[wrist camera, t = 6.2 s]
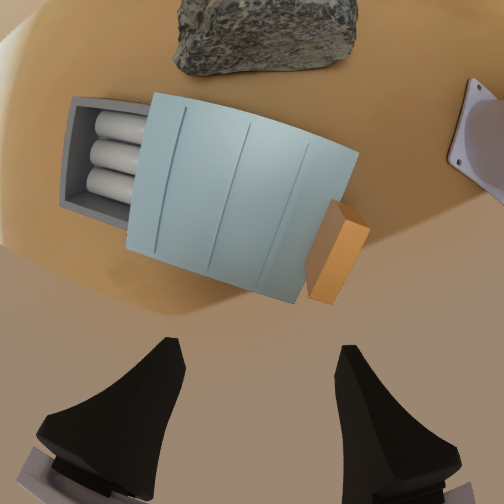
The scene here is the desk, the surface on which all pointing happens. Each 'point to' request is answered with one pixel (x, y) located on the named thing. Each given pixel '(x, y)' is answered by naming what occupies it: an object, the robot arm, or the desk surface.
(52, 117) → the desk surface
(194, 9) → the stone
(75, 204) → the tub
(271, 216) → the lid
